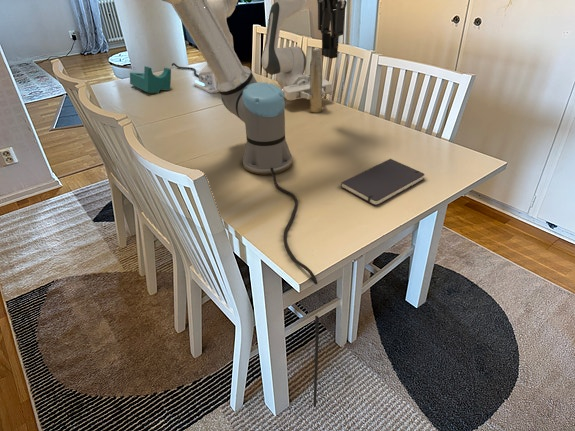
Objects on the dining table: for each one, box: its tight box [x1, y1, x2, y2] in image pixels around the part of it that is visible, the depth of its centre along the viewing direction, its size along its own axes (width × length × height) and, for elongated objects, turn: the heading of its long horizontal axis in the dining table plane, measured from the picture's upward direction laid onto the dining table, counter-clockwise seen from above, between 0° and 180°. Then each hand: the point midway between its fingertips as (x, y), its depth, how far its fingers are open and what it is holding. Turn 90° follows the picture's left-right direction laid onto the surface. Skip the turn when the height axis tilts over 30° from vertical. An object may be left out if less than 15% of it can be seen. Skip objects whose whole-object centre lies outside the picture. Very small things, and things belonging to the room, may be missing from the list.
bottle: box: [309, 47, 324, 114], centre depth 154 cm, size 5×5×23 cm
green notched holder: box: [129, 65, 172, 94], centre depth 185 cm, size 18×11×10 cm, turn 43°
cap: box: [323, 47, 329, 58], centre depth 132 cm, size 4×4×2 cm
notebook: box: [340, 158, 425, 206], centre depth 114 cm, size 13×2×21 cm
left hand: (317, 95), depth 157 cm, fingers closed on bottle, 5 cm apart
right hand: (329, 56), depth 133 cm, fingers closed on cap, 4 cm apart
